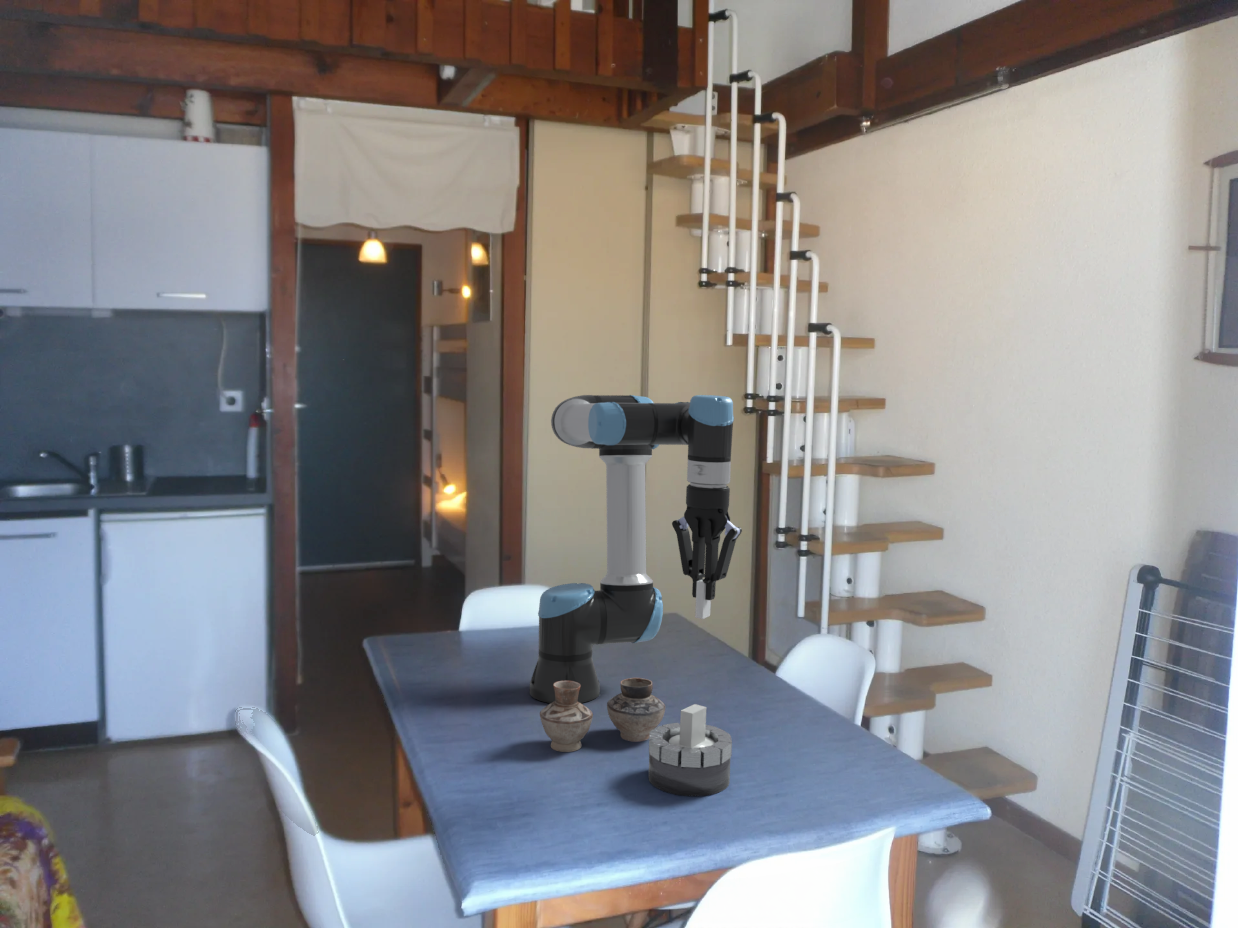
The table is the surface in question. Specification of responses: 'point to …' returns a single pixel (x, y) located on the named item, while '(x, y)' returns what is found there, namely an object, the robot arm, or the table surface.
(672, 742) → the cap
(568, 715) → the pottery
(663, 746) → the toothed ring drum
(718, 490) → the robot arm
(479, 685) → the table surface
